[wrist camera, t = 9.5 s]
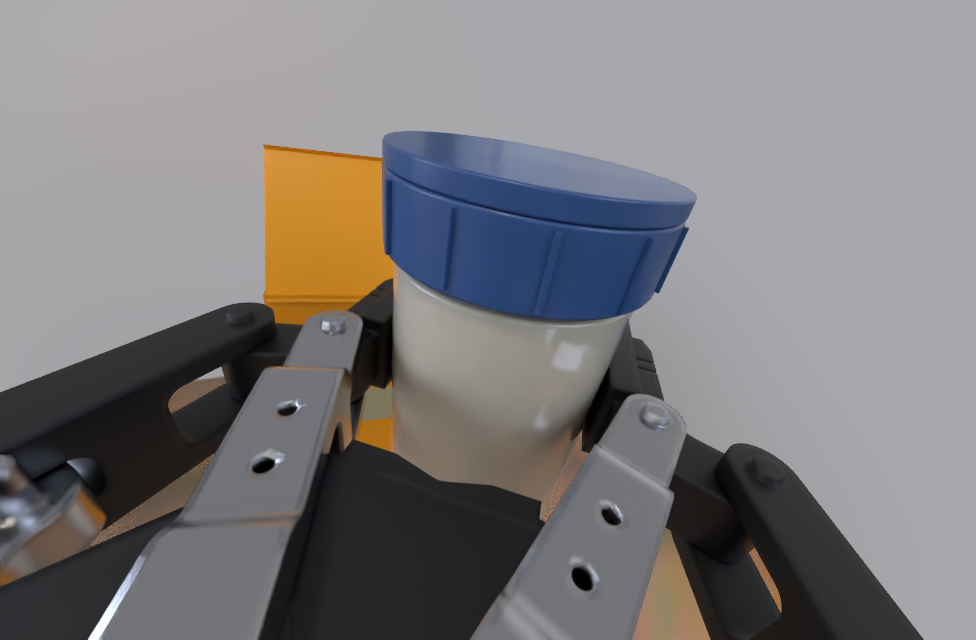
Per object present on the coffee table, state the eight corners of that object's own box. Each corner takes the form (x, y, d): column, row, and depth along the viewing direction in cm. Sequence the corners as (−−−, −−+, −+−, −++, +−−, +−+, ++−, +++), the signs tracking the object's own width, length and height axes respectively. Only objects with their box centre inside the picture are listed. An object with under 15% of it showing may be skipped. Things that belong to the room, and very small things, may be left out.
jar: (357, 542, 11) (329, 175, 5) (426, 416, 15) (451, 149, 10) (530, 606, 10) (710, 262, 4) (548, 454, 15) (649, 191, 9)
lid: (317, 265, 6) (302, 135, 5) (442, 198, 11) (448, 128, 10) (682, 362, 5) (755, 233, 4) (636, 242, 10) (664, 170, 9)
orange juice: (438, 471, 25) (473, 185, 15) (303, 489, 23) (228, 161, 12) (427, 393, 32) (445, 153, 21) (319, 401, 29) (279, 132, 19)
